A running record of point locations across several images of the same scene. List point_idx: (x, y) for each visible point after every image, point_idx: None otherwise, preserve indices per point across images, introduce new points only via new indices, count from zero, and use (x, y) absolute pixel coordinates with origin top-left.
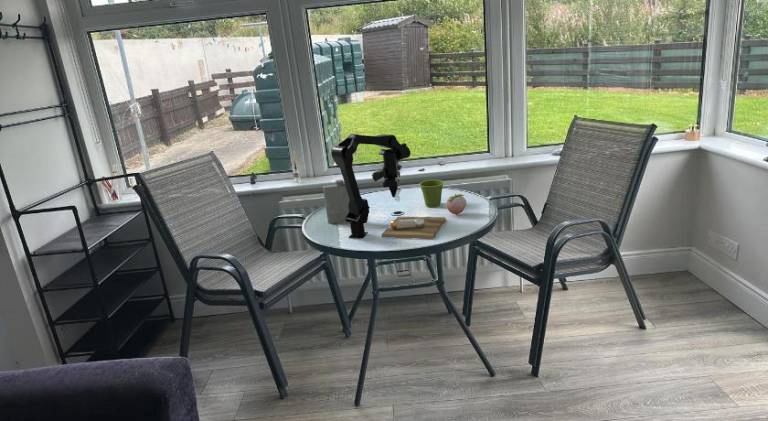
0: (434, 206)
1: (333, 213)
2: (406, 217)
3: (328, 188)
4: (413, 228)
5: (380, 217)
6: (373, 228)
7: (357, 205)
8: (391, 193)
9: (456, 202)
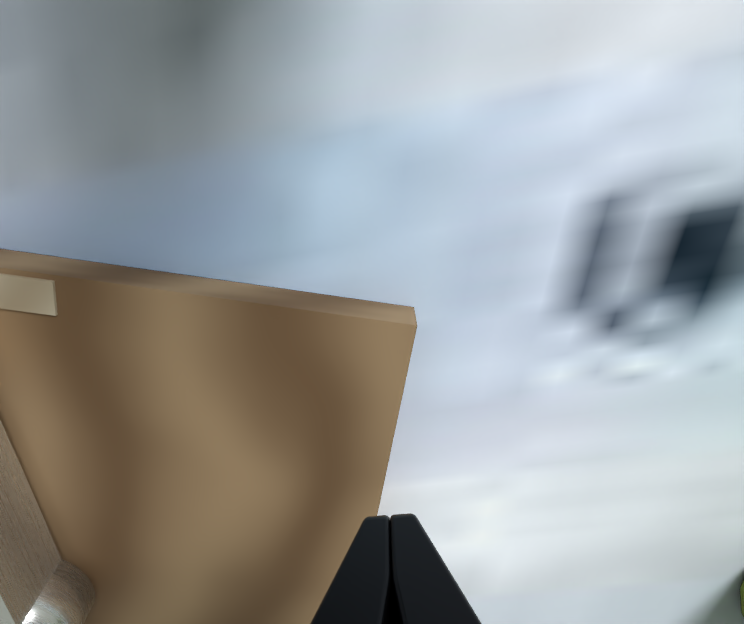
0: (741, 606)
1: None
2: (365, 428)
3: None
4: None
5: (564, 20)
6: (62, 8)
7: None
8: (314, 621)
9: None
